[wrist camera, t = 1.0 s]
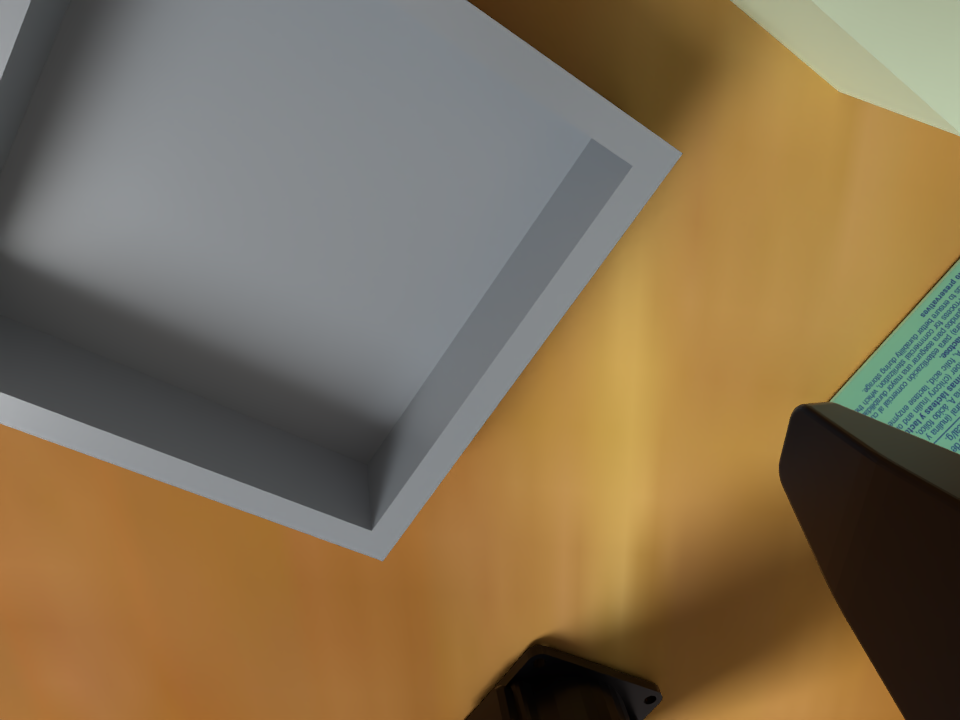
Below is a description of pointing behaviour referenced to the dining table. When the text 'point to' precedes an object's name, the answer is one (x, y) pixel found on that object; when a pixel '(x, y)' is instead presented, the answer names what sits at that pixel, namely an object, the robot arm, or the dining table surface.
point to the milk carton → (916, 371)
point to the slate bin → (292, 240)
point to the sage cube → (876, 50)
